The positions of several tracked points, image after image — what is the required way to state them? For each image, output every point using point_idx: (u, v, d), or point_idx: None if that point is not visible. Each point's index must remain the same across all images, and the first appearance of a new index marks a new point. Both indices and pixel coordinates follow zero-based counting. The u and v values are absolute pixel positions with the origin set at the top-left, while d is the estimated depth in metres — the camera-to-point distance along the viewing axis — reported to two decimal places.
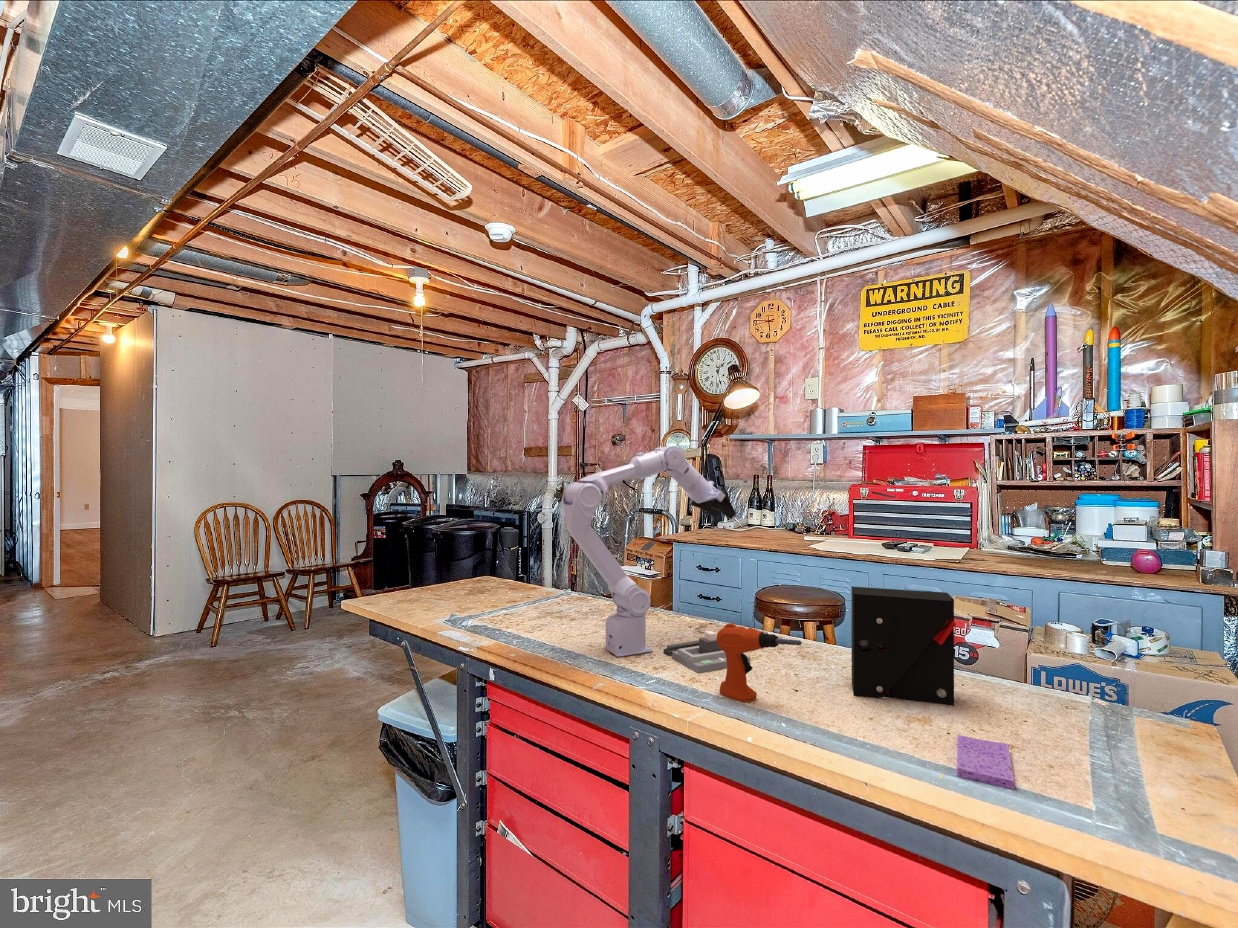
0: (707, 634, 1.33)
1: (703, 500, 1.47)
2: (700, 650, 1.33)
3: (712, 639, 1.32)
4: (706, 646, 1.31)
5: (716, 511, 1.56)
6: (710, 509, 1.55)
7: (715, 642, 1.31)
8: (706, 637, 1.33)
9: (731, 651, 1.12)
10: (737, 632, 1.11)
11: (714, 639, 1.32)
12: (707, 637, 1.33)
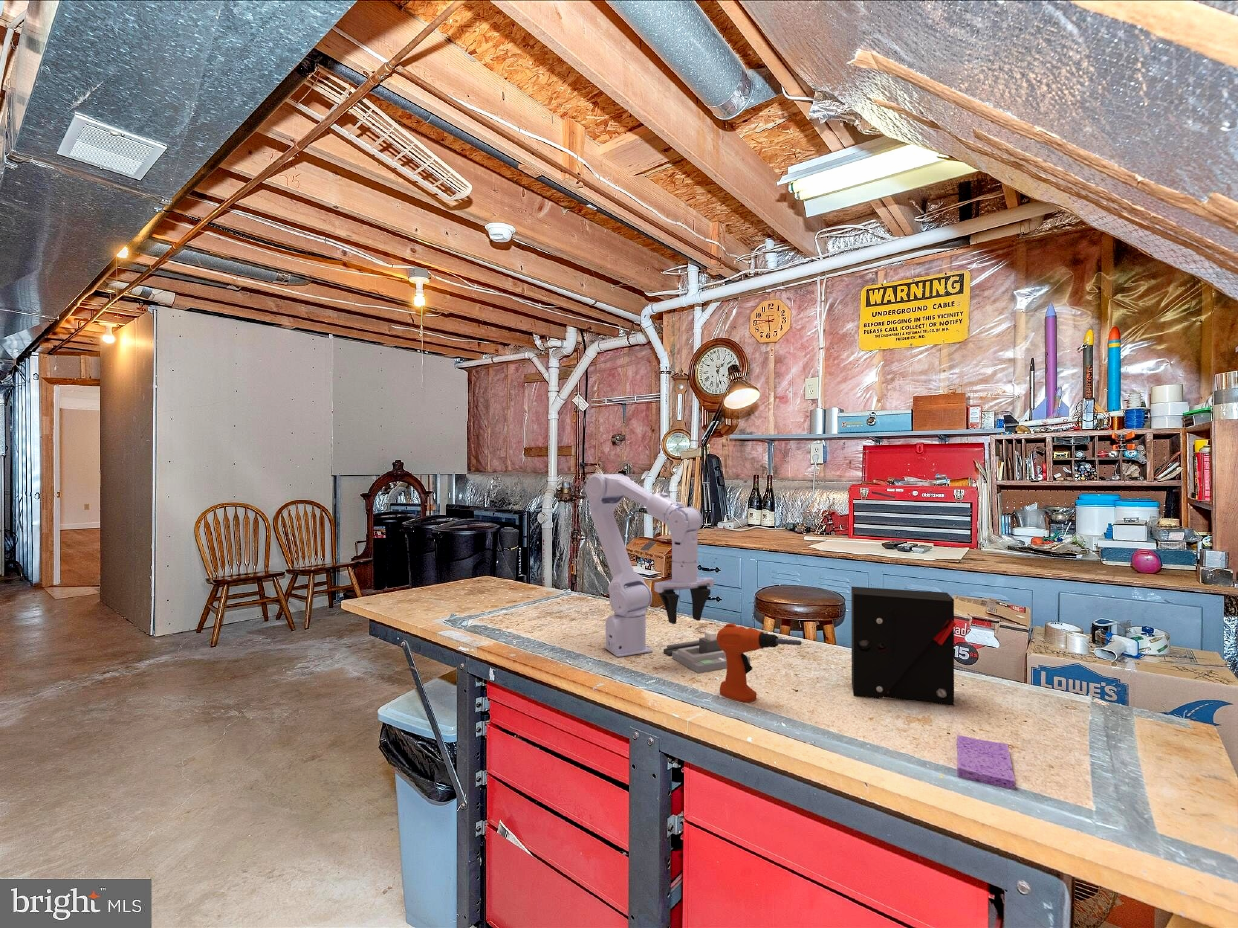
0: (707, 634, 1.33)
1: None
2: (700, 650, 1.33)
3: (712, 639, 1.32)
4: (706, 646, 1.31)
5: (696, 617, 1.31)
6: (694, 609, 1.32)
7: (715, 642, 1.31)
8: (706, 637, 1.33)
9: (731, 651, 1.12)
10: (737, 632, 1.11)
11: (714, 639, 1.32)
12: (707, 637, 1.33)
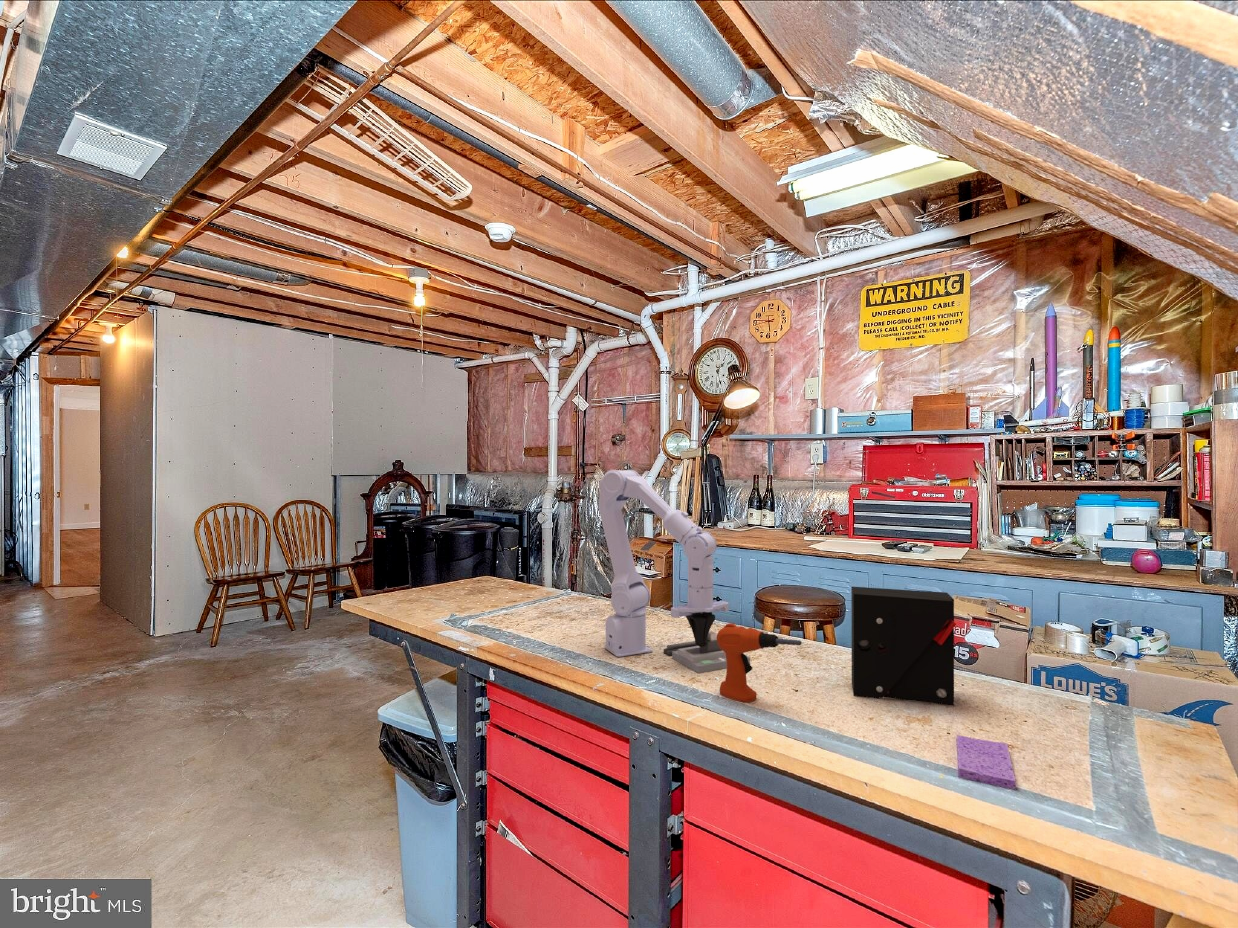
0: (708, 634, 1.33)
1: None
2: (701, 650, 1.33)
3: (713, 639, 1.32)
4: (707, 646, 1.31)
5: None
6: None
7: (716, 642, 1.31)
8: (707, 637, 1.33)
9: (731, 651, 1.12)
10: (737, 632, 1.11)
11: (715, 639, 1.32)
12: (708, 637, 1.33)
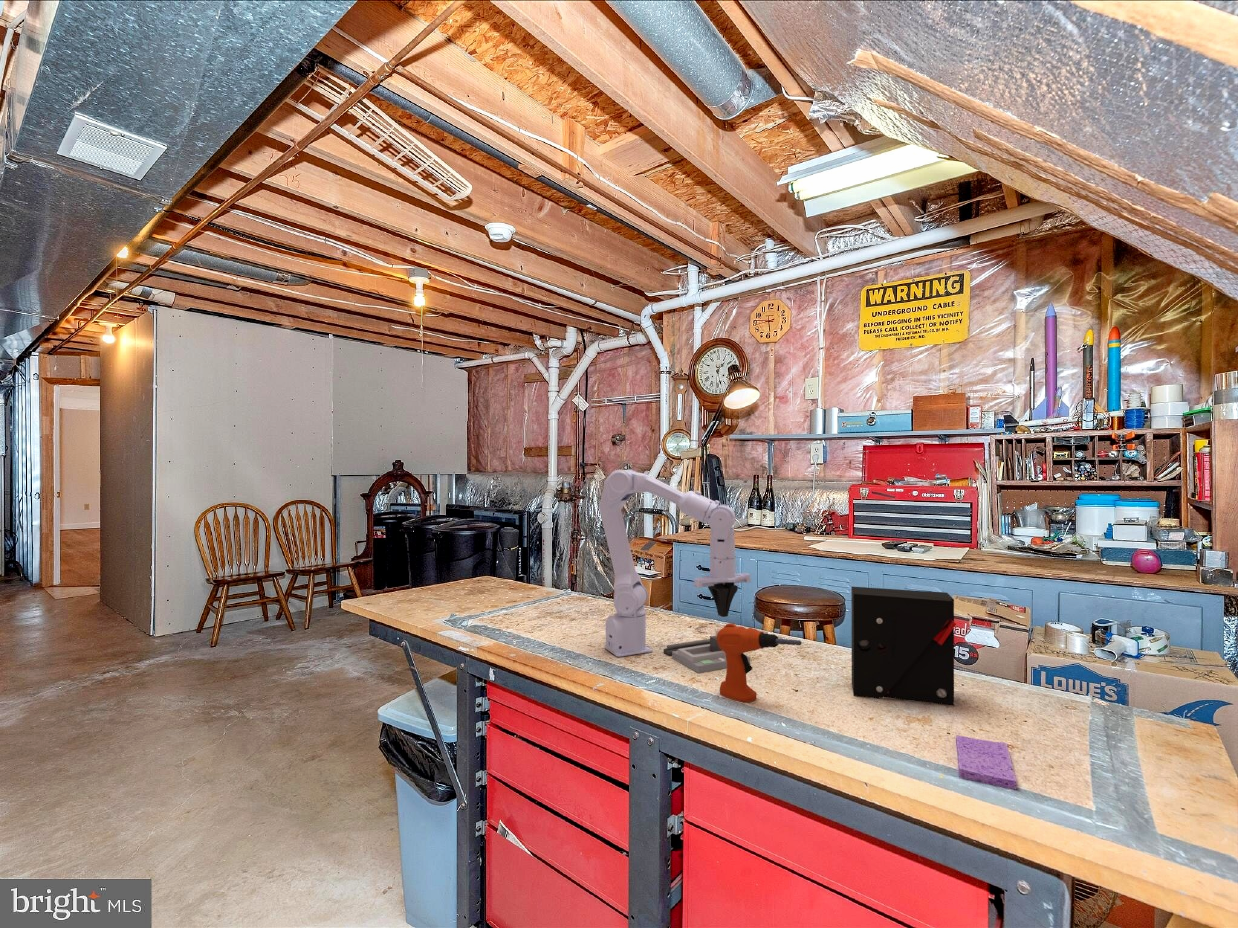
0: None
1: None
2: (711, 648, 1.34)
3: None
4: (717, 644, 1.32)
5: None
6: None
7: None
8: None
9: (731, 651, 1.12)
10: (737, 632, 1.11)
11: None
12: None
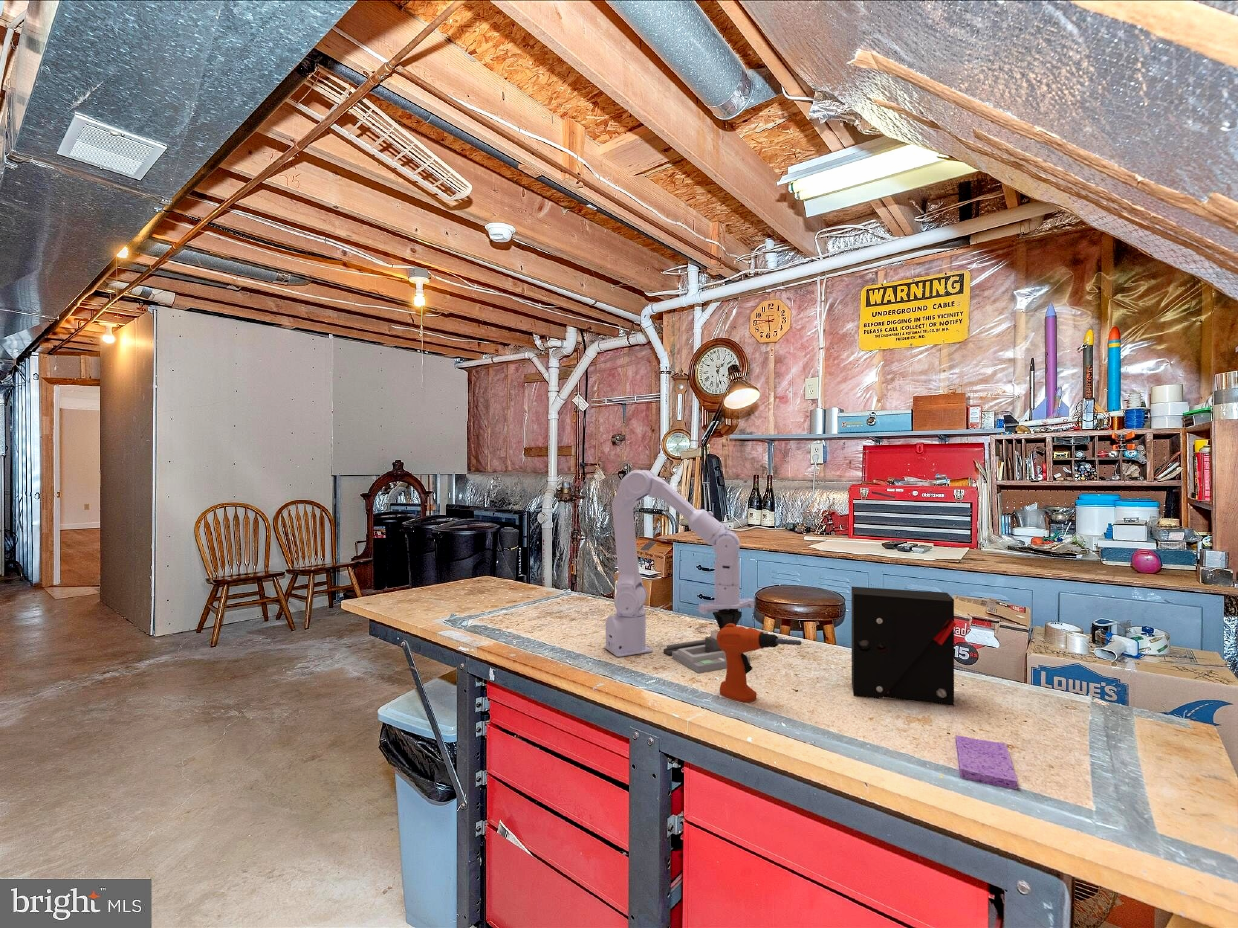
0: (713, 633, 1.33)
1: None
2: (706, 649, 1.34)
3: None
4: (712, 645, 1.32)
5: None
6: None
7: None
8: (712, 636, 1.34)
9: (731, 651, 1.12)
10: (737, 632, 1.11)
11: None
12: (713, 636, 1.33)
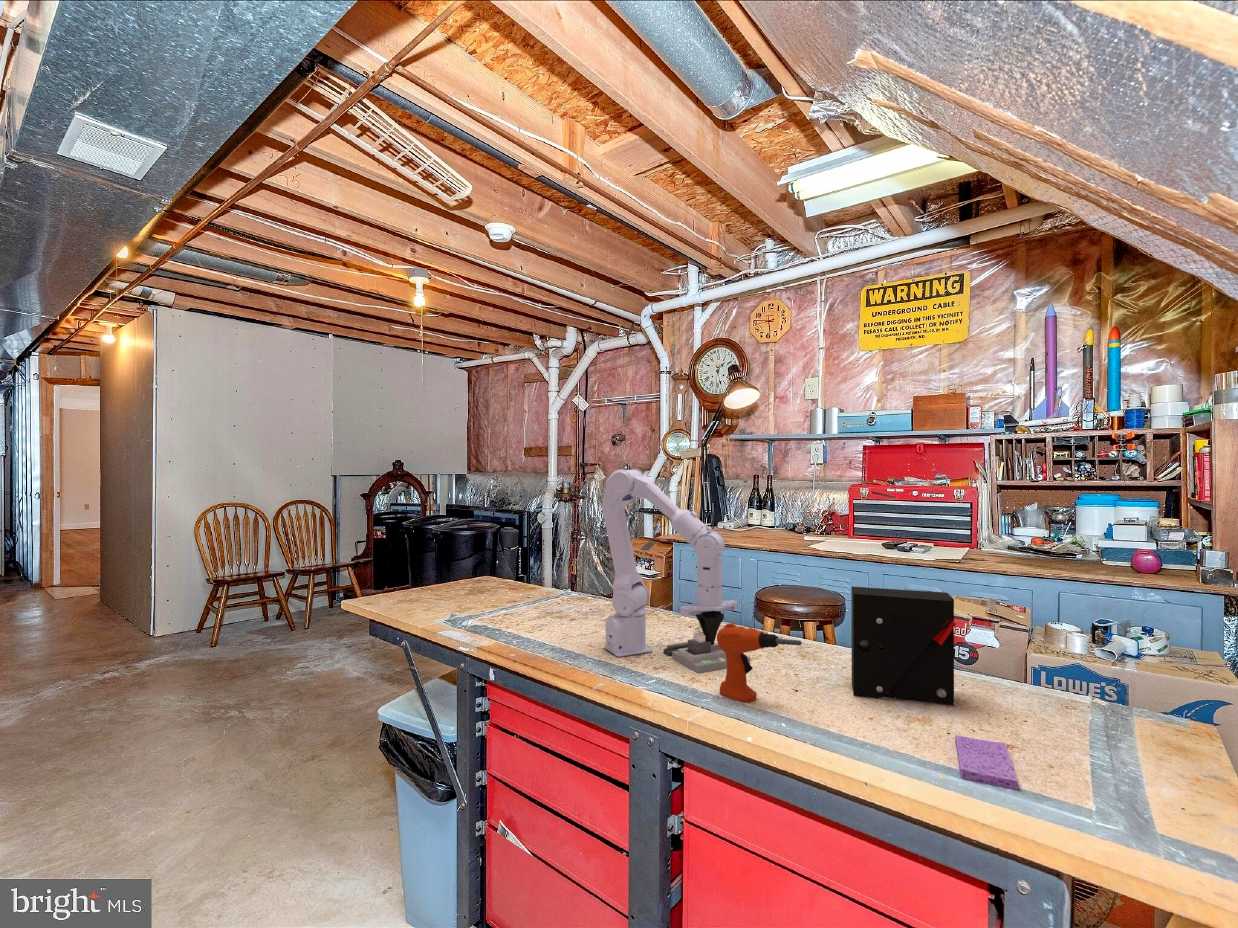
0: (696, 636, 1.31)
1: None
2: (689, 652, 1.32)
3: (701, 641, 1.30)
4: (695, 648, 1.29)
5: None
6: None
7: (704, 644, 1.30)
8: (695, 639, 1.32)
9: (731, 651, 1.12)
10: (737, 632, 1.11)
11: (703, 641, 1.31)
12: (696, 639, 1.31)
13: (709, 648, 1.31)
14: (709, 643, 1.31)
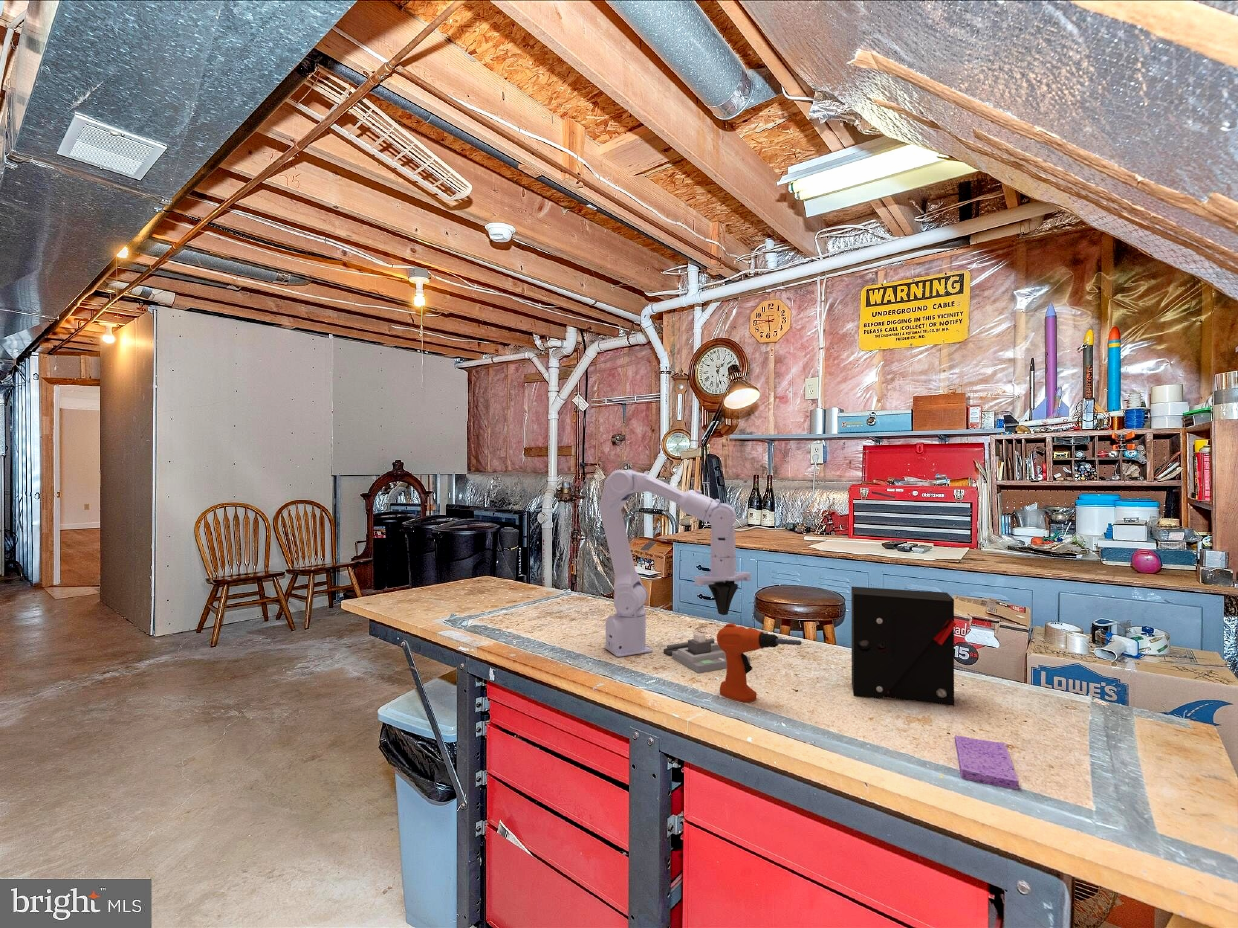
0: (696, 636, 1.31)
1: None
2: (689, 652, 1.32)
3: (701, 641, 1.30)
4: (695, 648, 1.29)
5: None
6: None
7: (704, 644, 1.30)
8: (695, 639, 1.32)
9: (731, 651, 1.12)
10: (737, 632, 1.11)
11: (703, 641, 1.31)
12: (696, 639, 1.31)
13: (709, 648, 1.31)
14: (709, 643, 1.31)
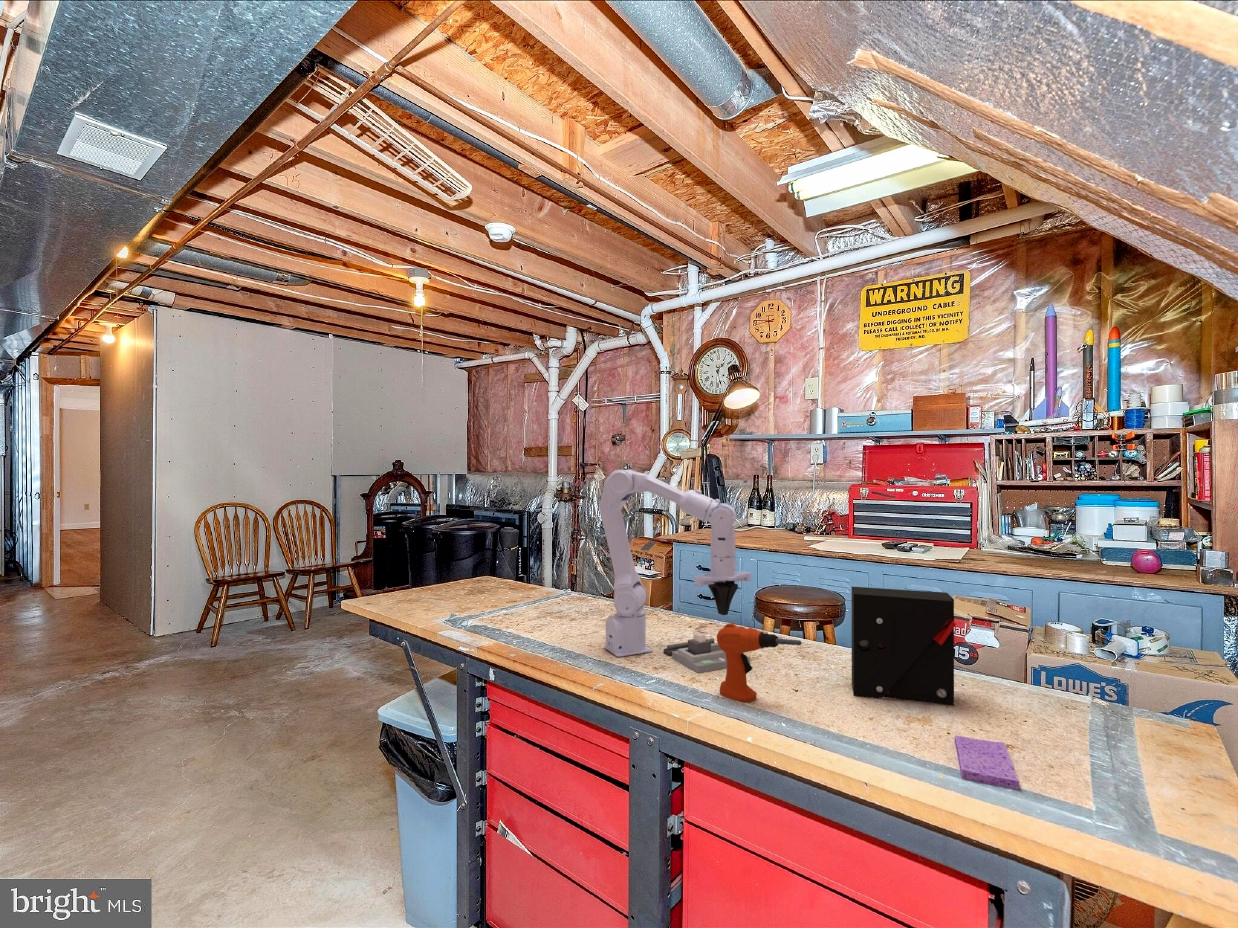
0: (696, 636, 1.31)
1: None
2: (689, 652, 1.32)
3: (701, 641, 1.30)
4: (695, 648, 1.29)
5: None
6: None
7: (704, 644, 1.30)
8: (695, 639, 1.32)
9: (731, 651, 1.12)
10: (737, 632, 1.11)
11: (703, 641, 1.31)
12: (696, 639, 1.31)
13: (709, 648, 1.31)
14: (709, 643, 1.31)
